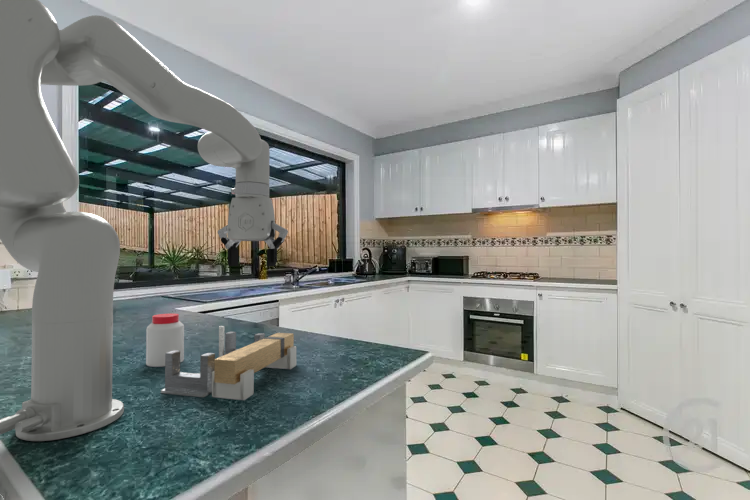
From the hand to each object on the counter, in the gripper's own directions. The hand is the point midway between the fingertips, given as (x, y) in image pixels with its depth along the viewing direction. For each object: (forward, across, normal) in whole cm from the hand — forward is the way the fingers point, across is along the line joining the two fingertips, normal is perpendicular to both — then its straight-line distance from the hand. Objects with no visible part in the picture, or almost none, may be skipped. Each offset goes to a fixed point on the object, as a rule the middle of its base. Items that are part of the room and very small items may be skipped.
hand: (252, 266), depth 87 cm
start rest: (+23, +7, -10) cm, 26 cm away
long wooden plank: (+20, +7, -10) cm, 23 cm away
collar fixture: (+23, -2, -10) cm, 25 cm away
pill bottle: (+23, -20, -3) cm, 31 cm away
